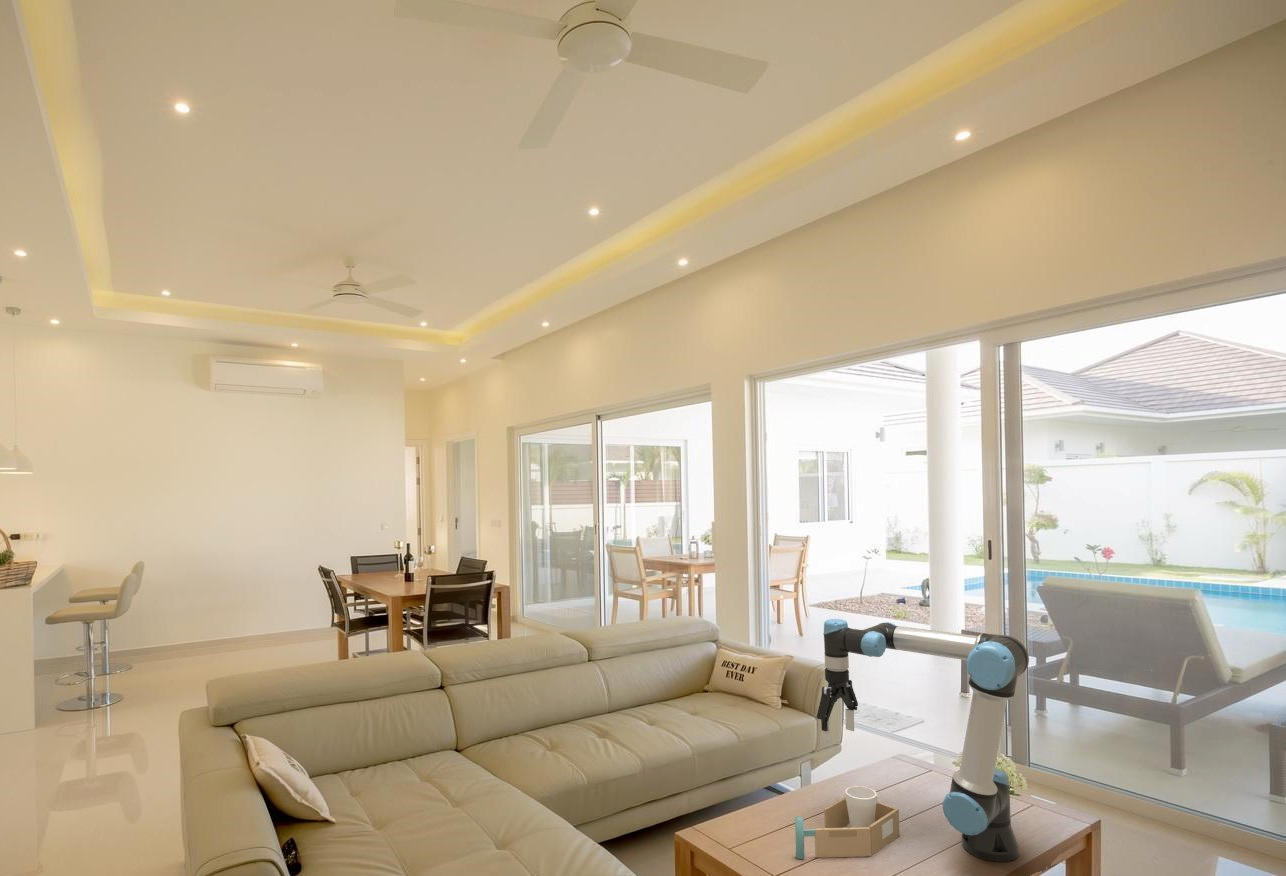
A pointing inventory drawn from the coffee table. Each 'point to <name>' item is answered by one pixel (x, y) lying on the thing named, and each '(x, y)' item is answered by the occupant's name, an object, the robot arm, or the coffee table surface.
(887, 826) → the carton
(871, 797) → the foam cup
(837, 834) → the teal-tan flat piece
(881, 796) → the coffee table surface
